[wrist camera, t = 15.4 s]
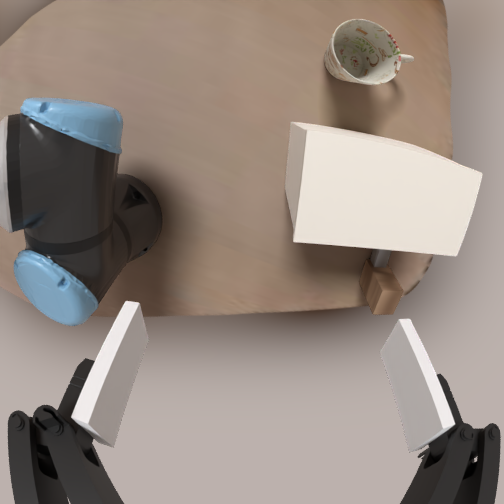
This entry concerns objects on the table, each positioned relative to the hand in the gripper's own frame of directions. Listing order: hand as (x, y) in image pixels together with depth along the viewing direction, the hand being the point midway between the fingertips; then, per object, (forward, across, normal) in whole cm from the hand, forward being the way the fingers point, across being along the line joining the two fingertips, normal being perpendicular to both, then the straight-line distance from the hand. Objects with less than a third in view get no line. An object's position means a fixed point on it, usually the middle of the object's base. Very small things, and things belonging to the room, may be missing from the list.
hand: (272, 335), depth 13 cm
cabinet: (+30, +13, +3) cm, 33 cm away
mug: (+30, +12, +19) cm, 38 cm away
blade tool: (+30, +21, -10) cm, 38 cm away
